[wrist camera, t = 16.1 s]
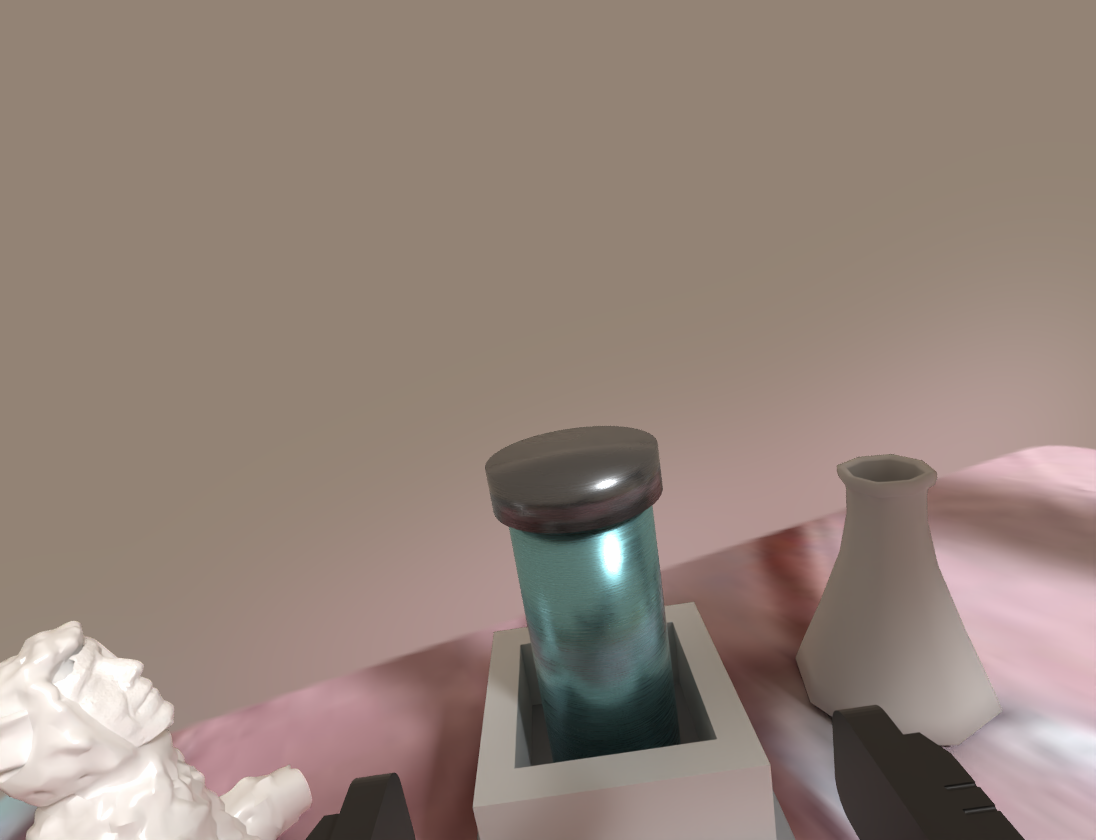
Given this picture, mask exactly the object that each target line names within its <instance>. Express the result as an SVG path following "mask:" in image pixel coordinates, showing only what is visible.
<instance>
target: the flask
mask: <svg viewBox="0 0 1096 840" xmlns="http://www.w3.org/2000/svg"><path fill="white" fill-rule="evenodd" d="M837 473H838V476H839V477H840V479H841V480H842V481H843V482H844V484H845V485H846V504H847V514H846V519H845V525H844V530H843V536H842V541H841V547H840V552H839V554H838V557H837V559H836V562H835V565H834V567H833V570H832V572H831V575H830V577H829V580H828V582H827V585H826V588H825V590H824V593H823V595H822V598H821V600H820V603H819V605H818V607H817V609H816V612H815V614H814V616H813V618H812V620H811V623H810V625H809V627H808V629H807V631H806V634H805V636H804V638H803V640H802V643H801V645H800V648H799V650H798V653H797V655H796V661H797V664H798V667H799V670H800V673H801V676H802V679H803V682H804V685H805V688H806V691H807V694H808V697H809V700H810V702H811V703H812V704H814V705H815V706H817V707H818V708H820V709H821V710H823V711H824V712H826V713H827V714H829V715H830V716H833V712H834V711H835V710H841V709H848V708H855V707H862V706H869V705H878V706H880V707H881V708H882V709H883V710H884V711H885V712H886V713H887V714H888V716H889V717H890V718H891V720H892V721H893V722H894V723H895V725H896V726H897V727H898V728H899V730H900V731H901V732H902V734H910V733H917V732H920V733H921V734H923V735H924V736H926V737H927V738H929V739H930V740H932V741H933V742H935V743H936V744H938V745H959V744H960V743H962V742H963V741H964V740H966V739H967V738H968V737H970V736H971V735H972V734H973V733H975V732H976V731H977V730H979V729H980V728H981V727H983V726H984V725H985V724H986V723H988V722H989V721H990V720H992V719H993V718H994V717H996V716H997V715H998V714H999V713H1001V712H1002V711H1003V710H1002V707H1001V705H1000V703H999V701H998V698H997V696H996V694H995V691H994V689H993V687H992V685H991V683H990V680H989V678H988V676H987V674H986V672H985V670H984V668H983V666H982V664H981V661H980V659H979V657H978V655H977V653H976V651H975V649H974V647H973V645H972V643H971V640H970V638H969V636H968V634H967V632H966V630H965V628H964V625H963V623H962V620H961V618H960V616H959V613H958V611H957V609H956V606H955V604H954V602H953V599H952V597H951V595H950V592H949V590H948V588H947V585H946V583H945V581H944V578H943V576H942V574H941V571H940V569H939V566H938V563H937V559H936V555H935V550H934V546H933V542H932V538H931V533H930V529H929V525H928V511H927V493H928V488H930V487H932V486H934V484H935V483H936V480H937V472H936V471H935V470H933V469H932V468H931V467H930V466H929V465H927V464H926V463H925V462H923V461H922V460H917V459H913V458H908V457H903V456H898V455H894V454H887V455H875V456H864V457H857V458H854V459H852V460H849V461H847V462H844V463H842V464H840V465H837Z"/></svg>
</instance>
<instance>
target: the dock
mask: <svg viewBox="0 0 1096 840" xmlns="http://www.w3.org/2000/svg"><path fill="white" fill-rule="evenodd" d="M664 607H665V615H666V623H667V631H668V640H669V648H670V656H671V664H672V673H673V681H674V689H675V697H676V706H677V714H678V722H679V730H680V739H681V745H674V746H667V747H660V748H653V749H646V750H640V751H633V752H626V753H619V754H612V755H605V756H598V757H591V758H585V759H578V760H571V761H564V762H557V763H553V759H552V754H551V748H550V743H549V738H548V732H547V727H546V722H545V716H544V711H543V706H542V700H541V695H540V690H539V684H538V679H537V674H536V668H535V663H534V658H533V652H532V647H531V642H530V636H529V631H528V627H524V628H517V629H511V630H504V631H497V632H494V636H493V644H492V652H491V660H490V669H489V677H488V685H487V693H486V701H485V710H484V718H483V726H482V734H481V743H480V751H479V759H478V767H477V776H476V784H475V792H474V800H473V811H474V816H475V820H476V824H477V828H478V835H477V840H795V838H794V835H793V833H792V831H791V829H790V827H789V824H788V822H787V820H786V818H785V815H784V813H783V811H782V809H781V807H780V804H779V802H778V800H777V798H776V796H775V793H774V791H773V789H772V778H771V766H770V763H769V761H768V758H767V756H766V754H765V752H764V750H763V748H762V746H761V744H760V741H759V739H758V737H757V735H756V733H755V731H754V729H753V727H752V724H751V722H750V720H749V718H748V716H747V714H746V712H745V709H744V707H743V705H742V703H741V701H740V699H739V697H738V695H737V692H736V690H735V688H734V686H733V684H732V682H731V680H730V678H729V675H728V673H727V671H726V669H725V667H724V665H723V663H722V660H721V658H720V656H719V654H718V652H717V650H716V648H715V646H714V643H713V641H712V639H711V637H710V635H709V633H708V631H707V629H706V626H705V624H704V622H703V620H702V618H701V616H700V614H699V611H698V609H697V607H696V605H695V603H694V602H689V603H683V604H676V605H670V606H664Z"/></svg>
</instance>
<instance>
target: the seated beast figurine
mask: <svg viewBox="0 0 1096 840" xmlns="http://www.w3.org/2000/svg"><path fill="white" fill-rule="evenodd" d="M143 667H144V665H143V664H142V663H141V662H140V661H137V660H132V659H122V658H117V657H116V656H115V655H113V654H112V653H111V652H110V651H109V650H108V649H106V648H105V647H104V646H103V645H101V644H100V643H99V642H98V641H96V640H95V639H94V638H91V637H87V636H83V631H82V628H81V624H80V623H79V622H77V621H70V622H68V623H65V624H64V625H62V626H60V627H58V628H56V629H53V630H50V631H49V630H48V631H44V632H40V633H37V634H36V635H34V636H32V637H30V638H28V639H26V641H25V643H24V645H23V647H22V649H21V650H20V652H19V654H18V655H16V656H13V657H11V658H9V659H7V660H5V661H3V662H1V663H0V790H1V791H2V792H4V793H5V794H7V795H8V796H9V797H12V798H14V799H18V800H21V801H24V802H26V803H28V804H30V805H34V806H38V808H37V810H36V811H35V821H34V824H33V825H32V826H31V827H30V828H29V829H28V831H27V834H26V840H276V839H277V838H278V837H279V836H280V835H281V834H282V833H283V832H285V831H286V830H287V829H288V828H290V827H291V826H292V825H293V824H295V823H296V822H297V821H299V817H300V815H301V814H303V813H304V812H305V811H307V810H308V809H309V808H311V804H312V796H311V792H310V789H309V786H308V783H307V781H306V779H305V777H304V776H303V774H302V773H301V772H300V771H299V770H298V769H291V766H290V764H289V765H287V766H285V767H283V768H280V769H278V770H276V771H274V772H272V773H271V774H269V775H263V776H258V777H245V778H243V779H242V780H240V781H239V782H238V783H237V784H236V785H235V787H234V788H233V789H232V790H230V791H229V792H228V793H226V794H224V795H222V796H220V797H218V796H217V794H216V793H215V792H213V791H211V790H209V789H207V788H206V786H205V777H204V775H203V774H202V773H201V772H200V771H197V770H196V768H195V767H194V766H190V765H188V764H186V763H185V759H184V755H183V754H182V753H181V752H180V751H179V750H178V749H177V748H175V747H173V743H172V736H171V734H170V732H169V730H167V729H166V728H167V727H170V726H171V724H173V723H174V722H173V718H174V717H173V716H174V706H173V705H172V704H171V703H169V702H167V701H164V700H163V699H162V697H161V695H160V693H159V691H158V689H156V688H154V687H152V682H151V681H150V679H146V678H143V677H142V676H141V673H142V671H143Z"/></svg>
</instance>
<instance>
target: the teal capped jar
mask: <svg viewBox="0 0 1096 840" xmlns="http://www.w3.org/2000/svg"><path fill="white" fill-rule="evenodd" d="M485 470H486V475H487V480H488V485H489V491H490V496H491V501H492V506H493V512H494V515H495V517H496V518H497V519H498V520H499V521H500V522H501V523H503V524H505V525H506V526H508V527H509V530H510V535H511V540H512V546H513V551H514V556H515V562H516V567H517V572H518V578H519V583H520V588H521V594H522V598H523V604H524V609H525V615H526V620H527V626H528V631H529V636H530V642H531V647H532V652H533V658H534V663H535V668H536V674H537V679H538V684H539V690H540V695H541V700H542V706H543V711H544V716H545V722H546V727H547V732H548V738H549V743H550V748H551V754H552V759H553V763H557V762H564V761H571V760H578V759H585V758H591V757H598V756H605V755H612V754H619V753H626V752H633V751H640V750H646V749H653V748H660V747H667V746H674V745H681V739H680V730H679V722H678V714H677V706H676V697H675V689H674V681H673V673H672V664H671V656H670V648H669V640H668V631H667V623H666V615H665V607H664V598H663V590H662V582H661V573H660V565H659V557H658V549H657V541H656V532H655V524H654V516H653V508H652V505H653V504H654V503H655V502H656V501H657V500H658V499H659V497H660V496H661V493H662V490H663V488H662V478H661V469H660V460H659V452H658V444H657V440H656V438H655V437H654V436H653V435H651V434H649V433H647V432H645V431H642V430H638V429H634V428H628V427H618V426H593V427H580V428H572V429H565V430H559V431H554V432H549V433H545V434H541V435H537V436H534V437H531V438H527V439H525V440H521V441H519V442H516V443H514V444H511V445H509V446H507V447H505V448H503V449H501V450H500V451H498V452H497V453H495V454H494V455H493V456H492V457H490V459H489V460H488V461H487V463H486V465H485Z"/></svg>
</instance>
